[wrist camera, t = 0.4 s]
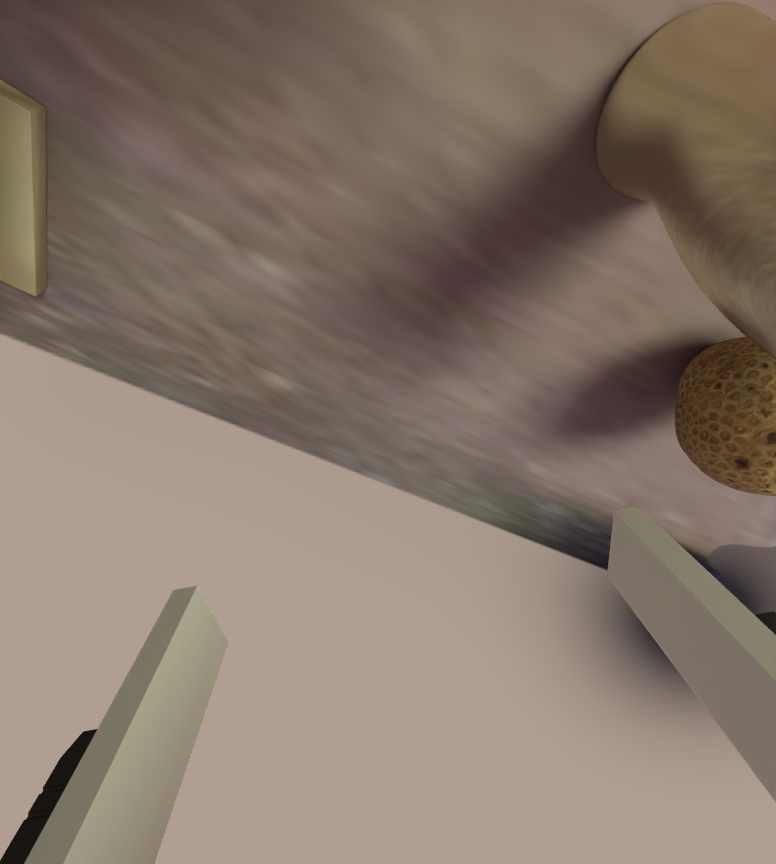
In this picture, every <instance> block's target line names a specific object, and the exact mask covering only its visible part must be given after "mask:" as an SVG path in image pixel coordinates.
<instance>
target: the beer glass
mask: <svg viewBox="0 0 776 864" xmlns="http://www.w3.org/2000/svg"><path fill="white" fill-rule="evenodd" d="M596 154H597V160H598V164H599V167H600V170H601V172H602V174H603V176H604V178H605V179H606V181H607V182H608V183H609V184H610V185H611V186H612V187H613V188H614V189H616V190H617V191H619V192H620V193H622V194H624V195H626V196H629V197H632V198H635V199H639V200H642V201H646V202H649V203H651V204H652V205H653V206H654V207H655V209H656V211H657V213H658V215H659V216H660V219H661V221H662V223H663V225H664V227H665V229H666V231H667V233H668V235H669V237H670V239H671V241H672V243H673V245H674V247H675V249H676V251H677V253H678V255H679V257H680V259H681V261H682V262H683V264H684V265H685V267H686V268H687V270H688V272H689V273H690V275H691V276H692V278H693V279H694V281H695V283H696V284H697V286H698V287H699V288H700V290H701V291H702V292H703V293H704V294H705V295H706V297H707V298H708V299H709V300H710V301H711V302H712V303H713V304H714V305H715V306H716V308H717V309H718V310H719V311H720V312H721V313H722V314H723V315H724V316H725V318H726V319H728V320H729V321H730V322H731V323H732V324H733V325H734V326H735V327H736V328H737V329H739V330H740V331H741V332H742V333H743V334H744V335H745V336H746V337H747V338H749V339H750V340H751V341H752V342H753V343H754V344H755V345H756V346H758V347H759V348H760V349H761V350H763V351H764V352H765V353H766V354H768V355H769V356H770V357H771V358H773V359H774V360H775V361H776V21H775V20H773V19H771V18H770V17H768V16H766V15H765V14H763V13H762V12H760V11H758V10H757V9H755V8H753V7H750V6H748V5H744V4H740V3H734V2H720V3H712V4H708V5H704V6H701V7H698V8H695V9H693V10H690V11H688V12H686V13H684V14H682V15H681V16H679V17H677V18H675V19H674V20H672V21H671V22H669V23H668V24H666V25H665V26H664V27H662V28H661V29H660V30H659V31H657V32H656V33H655V34H654V35H653V36H652V37H651V38H649V39H648V40H647V41H646V42H645V43H644V44H643V45H642V46H641V47H640V49H639V50H638V51H637V52H636V53H635V54H634V55H633V57H632V58H631V59H630V60H629V62H628V63H627V64H626V66H625V67H624V69H623V70H622V72H621V73H620V75H619V76H618V78H617V80H616V81H615V83H614V85H613V87H612V89H611V91H610V93H609V95H608V97H607V99H606V102H605V104H604V107H603V110H602V113H601V116H600V120H599V124H598V129H597V136H596Z"/></svg>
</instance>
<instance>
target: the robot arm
mask: <svg viewBox="0 0 776 864" xmlns="http://www.w3.org/2000/svg"><path fill="white" fill-rule="evenodd" d="M607 576H608V578H609V579H610V580H611V582H612V583H613V584H614V586H615V587H616V588H617V590H618V591H619V592H620V594H621V595H622V596H623V598H624V599H625V600H626V602H627V603H628V604H629V606H630V607H631V609H632V610H633V611H634V613H635V614H636V615H637V616H638V618H639V619H640V621H641V622H642V623H643V625H644V626H645V627H646V629H647V630H648V631H649V633H650V634H651V635H652V636H653V638H654V639H655V641H656V642H657V643H658V645H659V646H660V647H661V649H662V650H663V651H664V653H665V654H666V655H667V657H668V658H669V659H670V661H671V662H672V663H673V665H674V666H675V667H676V669H677V670H678V671H679V673H680V674H681V675H682V677H683V678H684V680H685V681H686V682H687V684H688V685H689V686H690V687H691V689H692V690H693V692H694V693H695V694H696V696H697V697H698V698H699V700H700V701H701V702H702V704H703V705H704V706H705V708H706V709H707V710H708V712H709V713H710V714H711V715H712V717H713V718H714V720H715V721H716V722H717V724H718V725H719V726H720V728H721V729H722V731H723V732H724V733H725V734H726V736H727V737H728V739H729V740H730V741H731V743H732V744H733V745H734V747H735V748H736V749H737V751H738V752H739V753H740V754H741V756H742V757H743V758H744V760H745V761H746V763H747V764H748V765H749V767H750V768H751V769H752V771H753V772H754V773H755V775H756V776H757V777H758V779H759V780H760V781H761V783H762V784H763V785H764V787H765V788H766V789H767V791H768V792H769V794H770V795H771V796H772V798H773V799H774V800H775V801H776V613H775V612H768V613H762V614H757V615H754V614H753V613H752V612H751V611H750V610H748V609H747V608H746V607H745V606H744V605H743V604H742V603H741V602H740V601H739V600H738V599H737V598H735V596H734V595H732V594H731V593H730V592H729V591H728V590H727V589H726V588H725V587H724V586H722V584H721V583H720V582H718V580H716V579H715V578H714V577H713V576H712V575H711V574H710V573H709V572H708V571H707V570H706V569H705V568H704V567H703V566H702V565H700V564H699V563H698V562H697V561H696V560H695V559H694V558H693V557H692V556H691V555H690V554H689V553H688V552H687V551H686V550H685V549H683V548H682V547H681V546H680V545H679V544H678V543H677V542H676V541H675V540H674V539H673V538H672V537H671V536H670V535H669V534H667V533H666V532H665V531H664V530H663V529H662V528H661V527H660V526H659V525H658V524H657V523H656V522H655V521H654V520H653V519H651V518H650V517H649V516H648V515H647V514H646V513H645V512H644V511H643V510H642V509H641V508H640V507H635V508H630V509H624V510H619V511H614V518H613V527H612V536H611V546H610V555H609V564H608V574H607ZM227 645H228V641H227V639H226V637H225V635H224V634H223V632H222V630H221V628H220V626H219V625H218V623H217V621H216V619H215V617H214V615H213V614H212V612H211V610H210V608H209V606H208V604H207V603H206V601H205V599H204V597H203V595H202V594H201V592H200V590H199V588H198V586H194V587H188V588H182V589H177V590H173V592H172V594H171V596H170V598H169V599H168V601H167V603H166V605H165V607H164V608H163V610H162V612H161V614H160V616H159V618H158V619H157V621H156V623H155V625H154V627H153V629H152V630H151V632H150V634H149V636H148V638H147V640H146V641H145V643H144V645H143V647H142V649H141V651H140V652H139V654H138V656H137V658H136V660H135V662H134V663H133V665H132V667H131V669H130V671H129V673H128V675H127V676H126V678H125V680H124V682H123V684H122V686H121V687H120V689H119V691H118V693H117V695H116V696H115V698H114V700H113V702H112V704H111V706H110V707H109V709H108V711H107V713H106V715H105V717H104V719H103V720H102V722H101V724H100V726H99V728H98V729H96V730H90V731H84V732H83V733H82V734H81V735H80V736H79V737H78V738H77V740H76V741H75V742H74V743H73V744H72V745H71V747H70V748H69V749H68V750H67V751H66V752H65V754H64V755H63V756H62V757H61V758H60V760H59V761H58V763H57V765H56V767H55V769H54V770H53V772H52V773H51V775H50V777H49V778H48V780H47V782H46V784H45V785H44V787H43V792H42V793H41V794H39V796H38V797H37V799H36V801H35V802H34V804H33V806H32V808H31V809H30V811H29V813H28V818H27V819H26V820H24V821H23V823H22V824H21V826H20V828H19V830H18V831H17V833H16V835H15V836H14V838H13V840H12V842H11V843H10V845H9V847H8V848H7V850H6V852H5V854H4V855H3V857H2V859H1V860H0V864H154V863H155V860H156V857H157V854H158V851H159V848H160V845H161V842H162V839H163V836H164V833H165V830H166V827H167V824H168V821H169V818H170V815H171V812H172V809H173V806H174V803H175V800H176V797H177V794H178V791H179V788H180V785H181V782H182V779H183V776H184V773H185V770H186V767H187V764H188V761H189V758H190V755H191V753H192V749H193V747H194V743H195V740H196V737H197V735H198V732H199V729H200V725H201V723H202V720H203V716H204V714H205V711H206V708H207V705H208V701H209V699H210V696H211V693H212V690H213V687H214V684H215V681H216V678H217V675H218V672H219V669H220V666H221V663H222V660H223V657H224V654H225V651H226V648H227Z"/></svg>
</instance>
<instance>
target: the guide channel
mask: <svg viewBox="0 0 776 864" xmlns="http://www.w3.org/2000/svg"><path fill="white" fill-rule="evenodd" d="M0 281H2V282H4V283H7V284H9V285H11V286H13V287H15V288H18V289H20V290H22V291H24V292H27V293H29V294H31V295H33V296H35V297H36V296H37V295H39V294H40V293H41V292H43V291H44V290H45V289H46V288H47V219H46V107H44V106H42V105H41V104H39V103H37V102H36V101H34V100H33V99H31V98H29V97H28V96H26V95H25V94H23V93H21V92H20V91H18V90H16V89H15V88H13V87H12V86H10V85H8V84H7V83H5V82H3V81H2V80H0Z"/></svg>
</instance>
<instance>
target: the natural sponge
mask: <svg viewBox="0 0 776 864" xmlns="http://www.w3.org/2000/svg"><path fill="white" fill-rule="evenodd" d="M675 428H676V436H677V439H678V442H679V444H680V446H681V448H682V449H683V451H684V452H685V453H686V454H687V456H688V457H689V459H690V460H691V461H692V462H693V463H694V464H695V465H696V466H697V467H698V468H699V469H700V470H701V471H702V472H704V473H705V474H706V475H708V476H709V477H711V478H712V479H714V480H716V481H718V482H720V483H722V484H724V485H726V486H728V487H731V488H733V489H736V490H740V491H744V492H748V493H753V494H761V495H770V496H776V361H775V360H774V359H773V358H771V357H770V356H769V355H768V354H766V353H765V352H764V351H763V350H761V349H760V348H759V347H758V346H756V345H755V344H754V343H753V342H752V341H751V340H750V339H749V338H747V337H741V338H734V339H729V340H726V341H723V342H720V343H718V344H715V345H713V346H711V347H708V348H707V349H705V350H704V351H702V352H701V353H700V354H698V355H697V356H696V357H695V358H694V359H693V360H692V361H691V362H690V363H689V364H688V366H687V367H686V368H685V370H684V371H683V374H682V376H681V379H680V381H679V385H678V389H677V395H676V406H675Z"/></svg>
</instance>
